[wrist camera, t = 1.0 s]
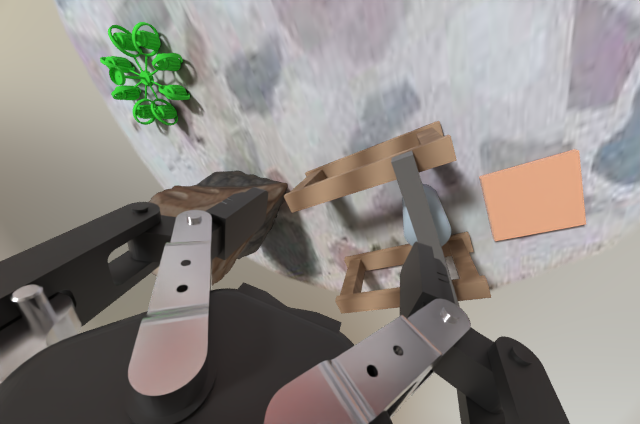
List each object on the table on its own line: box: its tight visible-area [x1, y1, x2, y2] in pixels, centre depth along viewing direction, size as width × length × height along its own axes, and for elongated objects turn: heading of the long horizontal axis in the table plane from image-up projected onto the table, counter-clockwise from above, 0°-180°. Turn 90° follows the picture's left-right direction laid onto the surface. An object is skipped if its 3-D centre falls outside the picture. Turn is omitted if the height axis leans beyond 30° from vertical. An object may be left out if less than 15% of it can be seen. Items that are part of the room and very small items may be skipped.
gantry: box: [284, 121, 491, 313], centre depth 34 cm, size 20×20×11 cm
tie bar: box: [391, 151, 459, 307], centre depth 26 cm, size 2×19×2 cm, turn 25°
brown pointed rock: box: [149, 171, 287, 285], centre depth 36 cm, size 13×13×20 cm
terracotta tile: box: [479, 149, 586, 241], centre depth 32 cm, size 10×10×1 cm
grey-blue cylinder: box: [402, 184, 451, 247], centre depth 32 cm, size 5×5×10 cm
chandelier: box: [100, 22, 190, 125], centre depth 38 cm, size 15×15×7 cm
